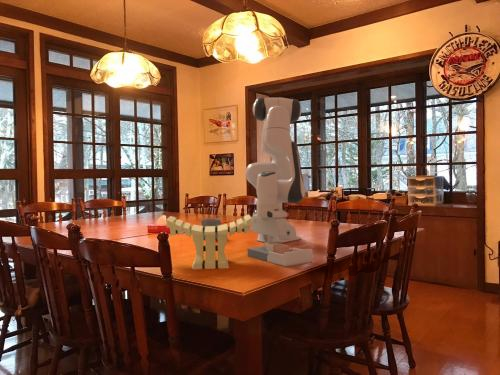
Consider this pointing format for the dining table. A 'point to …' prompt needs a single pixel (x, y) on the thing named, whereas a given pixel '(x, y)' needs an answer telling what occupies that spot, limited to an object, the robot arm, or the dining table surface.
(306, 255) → the box
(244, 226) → the slatted curved stool
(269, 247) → the tile cream
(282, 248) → the tile terracotta
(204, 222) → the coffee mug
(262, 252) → the board
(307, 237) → the dining table surface
